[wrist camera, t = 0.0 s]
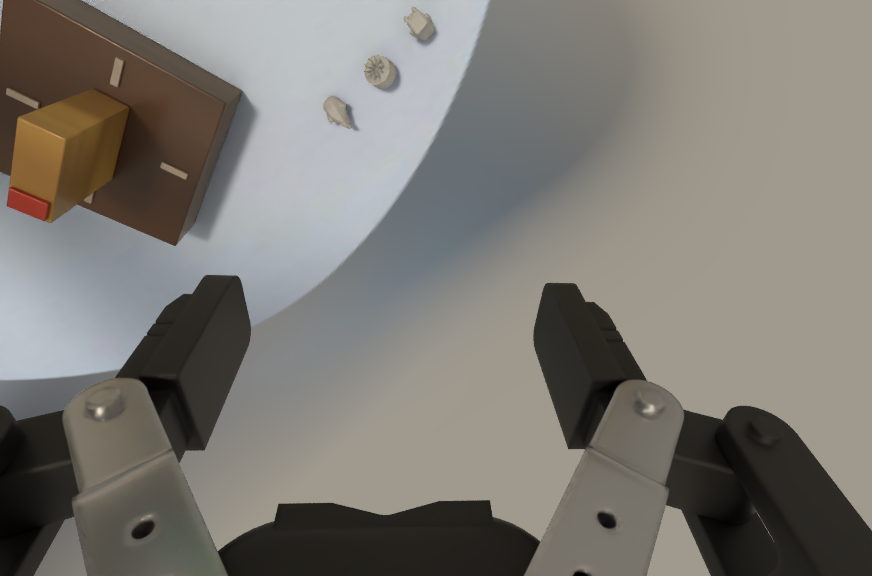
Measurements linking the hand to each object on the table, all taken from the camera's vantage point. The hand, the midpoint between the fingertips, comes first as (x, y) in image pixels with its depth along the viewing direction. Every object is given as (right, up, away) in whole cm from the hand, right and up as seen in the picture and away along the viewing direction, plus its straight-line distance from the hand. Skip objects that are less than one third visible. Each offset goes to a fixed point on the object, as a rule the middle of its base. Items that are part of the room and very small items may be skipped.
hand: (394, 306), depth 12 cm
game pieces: (-3, +12, +12) cm, 18 cm away
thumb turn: (-17, +9, +12) cm, 22 cm away
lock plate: (-17, +10, +15) cm, 25 cm away
